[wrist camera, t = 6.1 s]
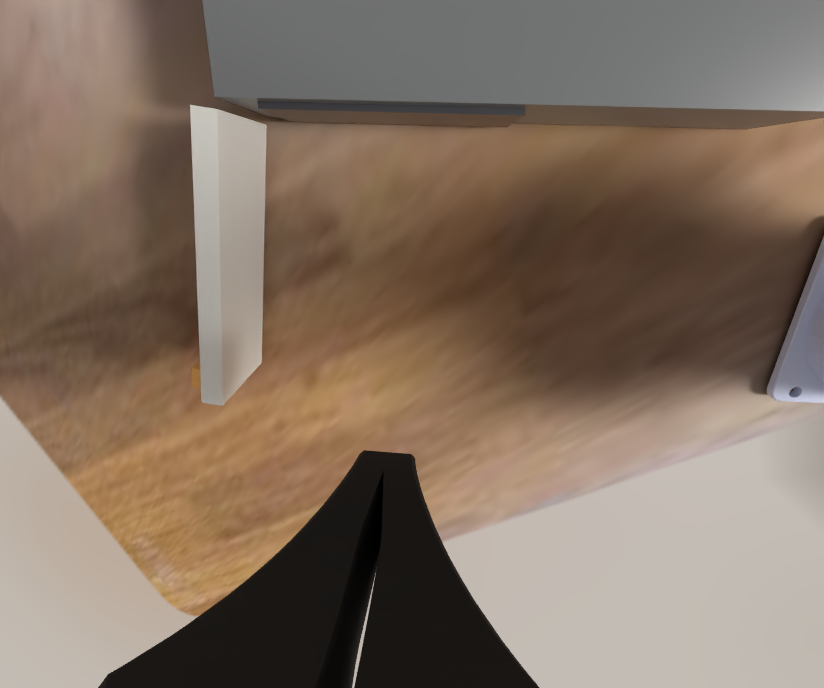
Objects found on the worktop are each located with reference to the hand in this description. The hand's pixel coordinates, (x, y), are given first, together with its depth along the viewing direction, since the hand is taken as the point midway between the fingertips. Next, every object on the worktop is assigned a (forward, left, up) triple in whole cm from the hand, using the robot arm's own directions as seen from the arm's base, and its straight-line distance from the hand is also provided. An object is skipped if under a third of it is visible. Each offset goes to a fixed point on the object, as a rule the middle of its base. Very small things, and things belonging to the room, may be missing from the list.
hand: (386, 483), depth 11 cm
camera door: (+7, -4, -9) cm, 12 cm away
